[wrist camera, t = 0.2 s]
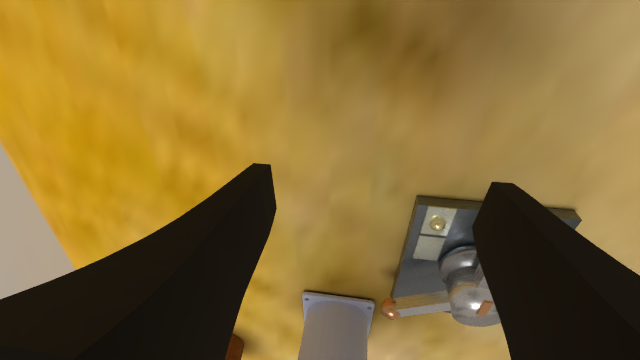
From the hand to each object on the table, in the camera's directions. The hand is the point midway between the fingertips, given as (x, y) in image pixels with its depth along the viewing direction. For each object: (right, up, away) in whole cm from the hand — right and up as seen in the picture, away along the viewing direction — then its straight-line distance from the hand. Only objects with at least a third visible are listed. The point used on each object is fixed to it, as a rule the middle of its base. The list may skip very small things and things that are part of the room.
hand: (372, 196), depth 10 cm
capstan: (+11, -6, +14) cm, 19 cm away
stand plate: (+11, -7, +16) cm, 20 cm away
